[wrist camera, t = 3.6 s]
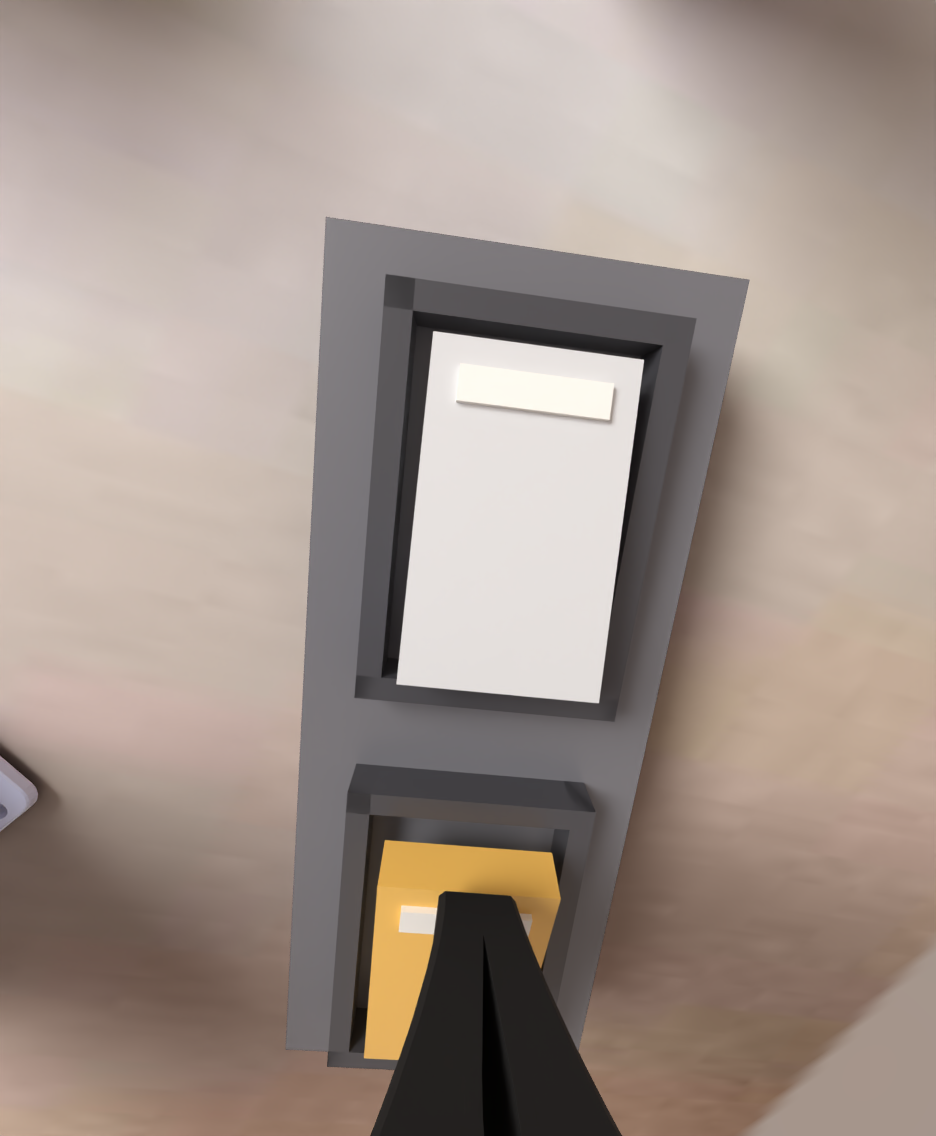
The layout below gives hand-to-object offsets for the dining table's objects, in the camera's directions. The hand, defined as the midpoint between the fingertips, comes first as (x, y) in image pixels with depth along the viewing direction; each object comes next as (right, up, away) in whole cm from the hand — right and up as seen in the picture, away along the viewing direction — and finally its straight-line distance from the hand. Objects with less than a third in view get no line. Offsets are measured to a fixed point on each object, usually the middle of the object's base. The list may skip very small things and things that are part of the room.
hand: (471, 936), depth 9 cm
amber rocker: (0, -2, +2) cm, 3 cm away
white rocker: (+1, +8, 0) cm, 8 cm away
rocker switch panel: (0, +4, +5) cm, 6 cm away
